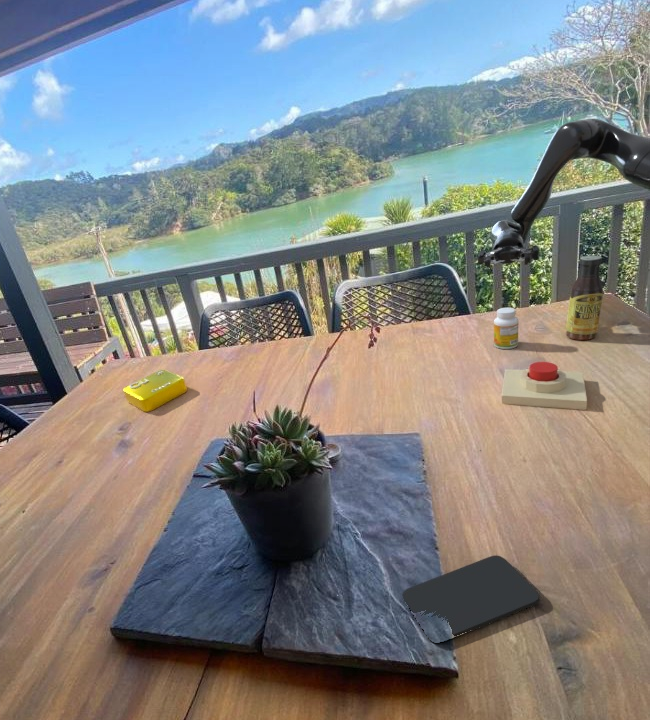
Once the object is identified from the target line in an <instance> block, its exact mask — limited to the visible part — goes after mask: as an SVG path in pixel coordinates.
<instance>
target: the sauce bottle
mask: <svg viewBox="0 0 650 720" xmlns="http://www.w3.org/2000/svg"><path fill="white" fill-rule="evenodd" d="M602 259H603V257H602V256H600V255H585V256H581V257H580V259H579V262H578V264H579V272H578V277H577V278H576V279H575V280H574V282H573V284H572V285H571V288H570V295H569V300H568V301H569V302H568V310H567V317H566V318H567V319H566V326H565V330H566V332H565V333H566V337H567V338H569V339H571V340H575V341H576V340H577V341H587V340H588V341H589V340H592V339H595V338H596V336H597V332H598V330H599V323H600V317H601V309H602V303H603V302H602V301H603V295H604V289H603V287H604V285H603V281H602V279H601V277H600V269H601V264H602V262H603V261H602Z"/></svg>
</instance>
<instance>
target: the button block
mask: <svg viewBox="0 0 650 720" xmlns="http://www.w3.org/2000/svg"><path fill="white" fill-rule="evenodd" d="M502 384H503V385H502V390H501V404H502V405H516V406H528V407H529V406H530V407H540V408H541V407H542V408H555V409H566V410H567V409H569V410H581V411H582V410H583V411H587V409H588V397H587V392H586V391H587V390H586V382H585V377H584V372H583V371H566V370H565V371H563V370H561V369H559V368H558V371H557V379H556V380H554V381H548V382H544V381H536V380H533V379H531V378H529V367H527V368H526V369H515V368H514V369H511V368H509V369H508V368H505V369H504V375H503V383H502Z"/></svg>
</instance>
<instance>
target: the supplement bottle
mask: <svg viewBox="0 0 650 720" xmlns="http://www.w3.org/2000/svg"><path fill="white" fill-rule="evenodd" d="M516 312H517V311H516V308H513V307H500V308H499V309H497V310H496V317H495V318H494V320H493V346H494V347H495V348H498V349H500V350H511V349H515V348H517V347H518V345H519V325H520V324H519V318H518V317H517V316H516V314H517V313H516Z"/></svg>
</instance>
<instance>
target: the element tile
mask: <svg viewBox="0 0 650 720" xmlns="http://www.w3.org/2000/svg"><path fill="white" fill-rule="evenodd" d="M122 389H123V393H124V396H125V399H126V401H127V403H129V404H131V405H132V406H134V407H135V408H138V409H139V410H140V411H142V412H145V413H149V412H152V411H154V410H156V409H158V408H160V407H161V406H163V405H165V404H167V403H169V402H171V401H173V400H174V399H176V398H178V397H180V396H182V395H184V394H185V393H186V392H188V387H187V384H186V381H185V378H184V377H183V376H181V375H179V374H176V373H173V372H171V371H168V370H166V369H159V370H157V371H155V372H153V373H151V374H150V375H147V376H145V377H143V378H141V379H139V380H137V381H135V382H133V383H130V384H129V385H127V386H125V387H124V388H122Z"/></svg>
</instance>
